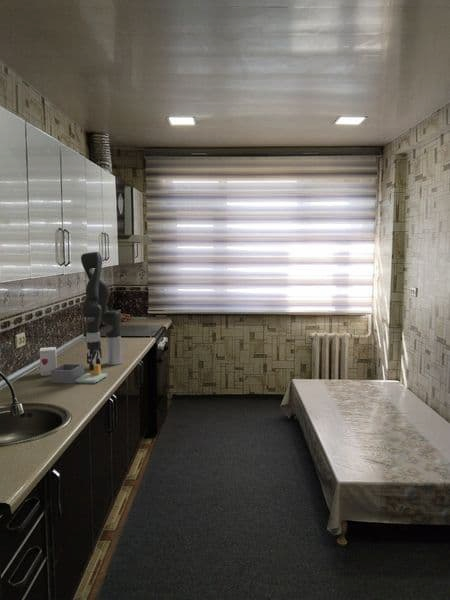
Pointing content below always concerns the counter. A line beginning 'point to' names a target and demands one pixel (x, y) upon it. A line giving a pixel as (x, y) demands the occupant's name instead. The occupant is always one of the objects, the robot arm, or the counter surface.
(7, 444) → the counter surface
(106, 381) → the counter surface
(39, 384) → the counter surface
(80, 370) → the tub
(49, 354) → the supplement box
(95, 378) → the lid
